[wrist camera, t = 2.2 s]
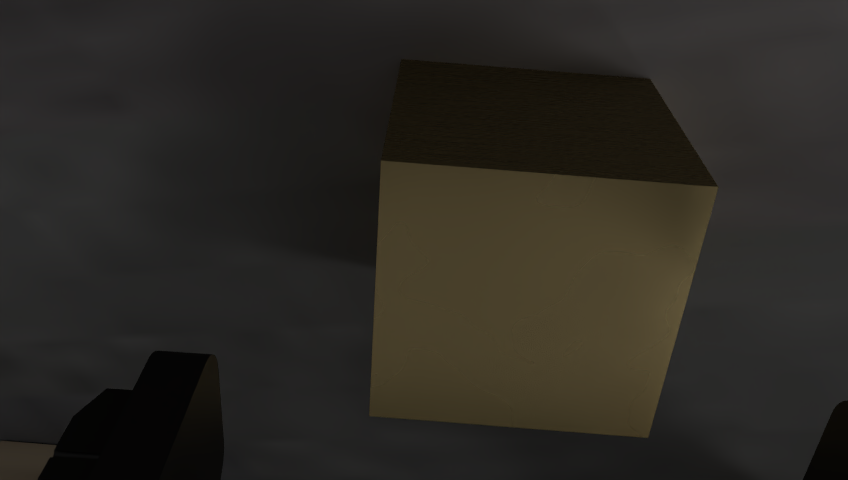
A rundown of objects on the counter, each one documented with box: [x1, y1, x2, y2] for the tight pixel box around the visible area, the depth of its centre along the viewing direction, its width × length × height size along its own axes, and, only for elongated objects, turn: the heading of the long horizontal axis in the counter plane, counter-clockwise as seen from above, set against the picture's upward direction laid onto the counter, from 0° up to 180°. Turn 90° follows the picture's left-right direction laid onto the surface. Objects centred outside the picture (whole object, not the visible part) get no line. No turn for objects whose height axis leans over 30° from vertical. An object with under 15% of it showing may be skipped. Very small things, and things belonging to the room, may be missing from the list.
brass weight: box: [369, 59, 718, 438], centre depth 15 cm, size 5×5×5 cm
